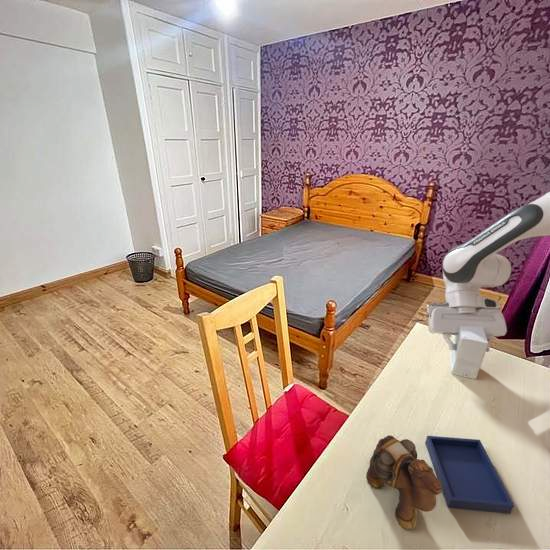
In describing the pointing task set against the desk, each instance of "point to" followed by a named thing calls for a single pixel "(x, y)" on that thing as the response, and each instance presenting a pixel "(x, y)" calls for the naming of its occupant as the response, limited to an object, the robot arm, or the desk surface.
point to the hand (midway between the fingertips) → (469, 350)
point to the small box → (468, 351)
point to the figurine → (404, 478)
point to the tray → (467, 475)
